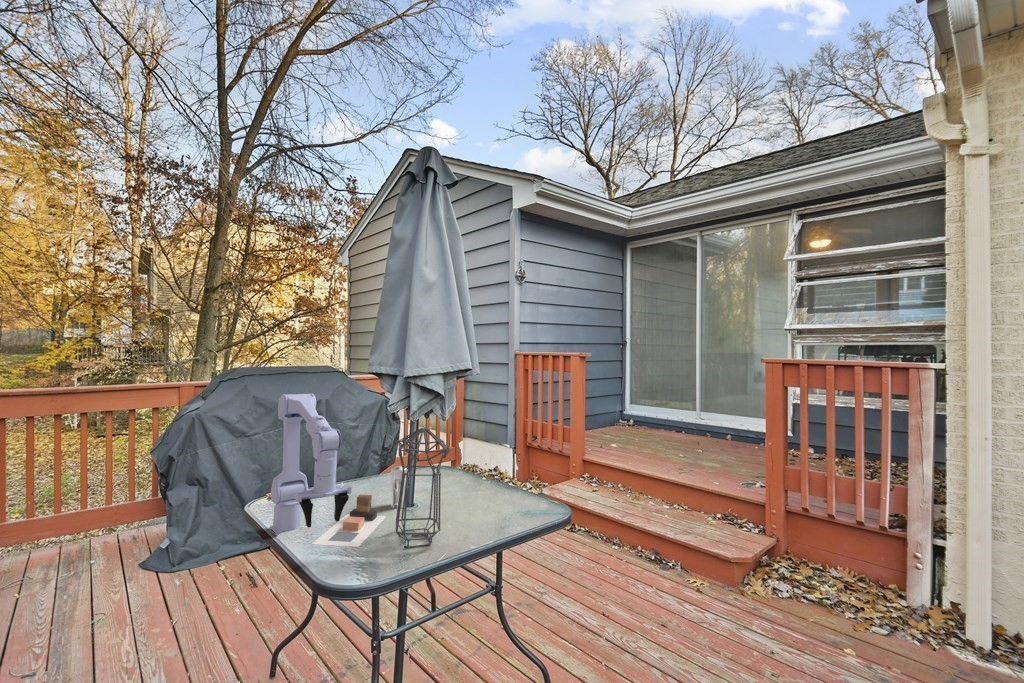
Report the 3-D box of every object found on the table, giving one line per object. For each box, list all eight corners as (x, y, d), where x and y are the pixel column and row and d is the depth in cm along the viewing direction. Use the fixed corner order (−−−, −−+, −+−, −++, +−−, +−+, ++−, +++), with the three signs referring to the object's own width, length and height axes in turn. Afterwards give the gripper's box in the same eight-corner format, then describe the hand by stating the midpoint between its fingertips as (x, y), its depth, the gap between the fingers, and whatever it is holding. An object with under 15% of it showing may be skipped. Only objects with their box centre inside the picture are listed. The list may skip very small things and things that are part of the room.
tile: (349, 524, 150) (349, 516, 151) (364, 525, 150) (364, 517, 150) (342, 530, 145) (343, 522, 146) (358, 530, 145) (358, 522, 145)
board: (346, 517, 160) (346, 514, 160) (386, 519, 159) (386, 516, 159) (311, 548, 134) (311, 544, 134) (358, 550, 133) (358, 546, 133)
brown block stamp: (354, 515, 158) (355, 493, 159) (376, 516, 158) (377, 494, 158) (349, 519, 154) (350, 497, 155) (372, 520, 154) (373, 498, 154)
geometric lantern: (390, 533, 147) (397, 424, 149) (439, 531, 151) (445, 424, 153) (391, 553, 132) (399, 431, 134) (446, 550, 136) (453, 432, 138)
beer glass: (407, 511, 168) (409, 470, 168) (387, 512, 167) (389, 470, 167) (408, 505, 175) (410, 465, 175) (389, 505, 173) (391, 465, 174)
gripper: (301, 481, 120) (299, 533, 120) (356, 473, 129) (354, 522, 129) (294, 475, 125) (291, 525, 125) (347, 468, 135) (345, 514, 134)
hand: (323, 523), depth 127 cm, fingers open, 7 cm apart
